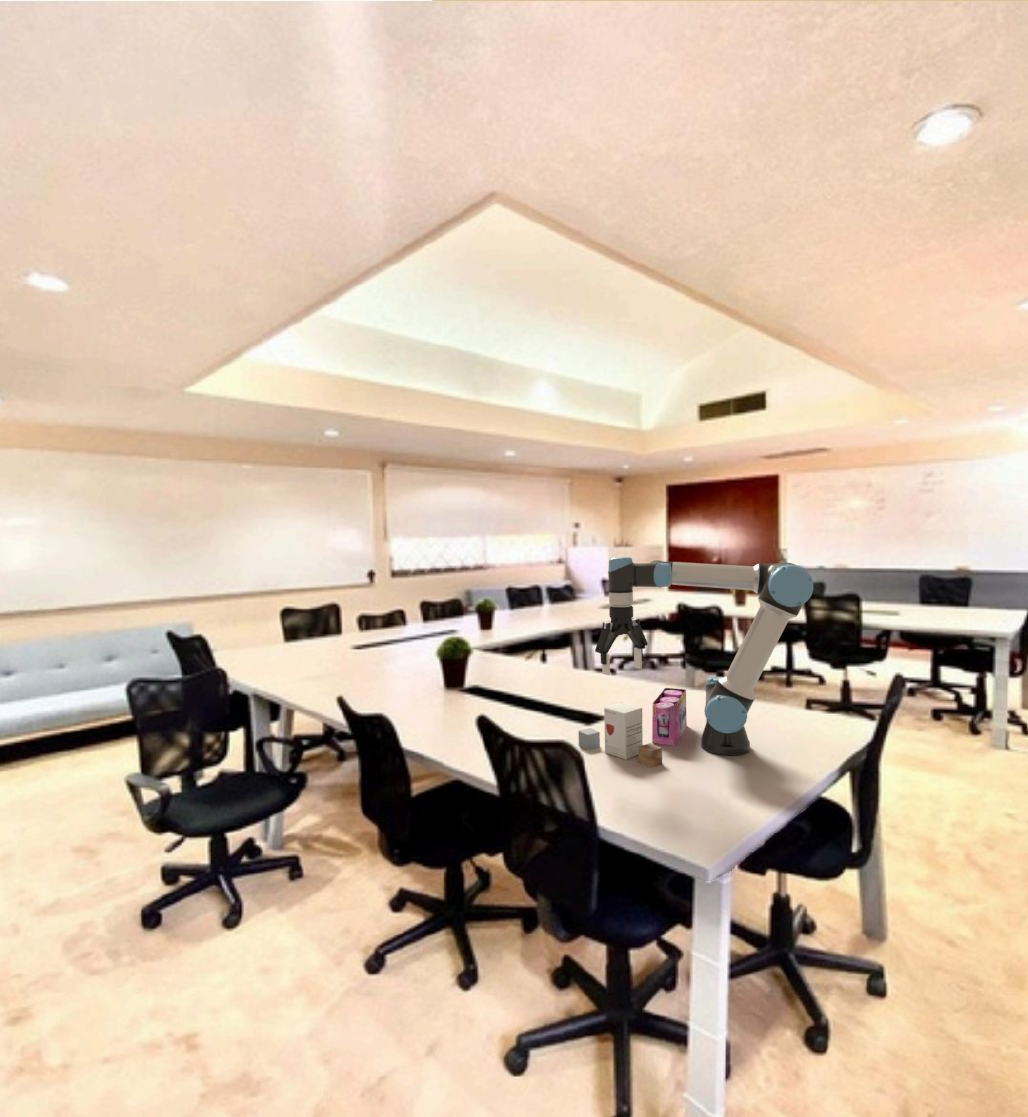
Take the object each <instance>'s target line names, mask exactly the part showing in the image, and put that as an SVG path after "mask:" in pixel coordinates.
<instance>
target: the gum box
mask: <svg viewBox="0 0 1028 1117" xmlns="http://www.w3.org/2000/svg"><path fill="white" fill-rule="evenodd" d="M651 718H652V720H651V721H652V725H651V729H652V731H651V735H652V736H651V737H652V738H651V741H652V743H651V744H658V745H659V744H660V745H667V746H676V744H677V743H678V741H679V739H680V738H681V736H682V734H683V733H684V732H685V729H686V728H687V689H683V688H672V687H665V688H663V690H662V692H661V693H660V694H659V695H658V696H657V697H656V698H655V699H654V700H653V702H652V717H651Z"/></svg>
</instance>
